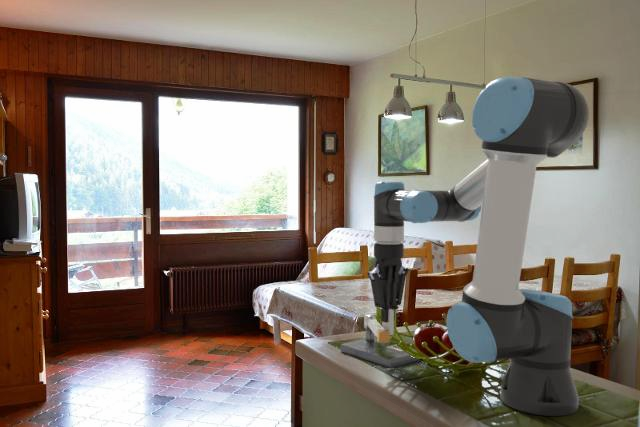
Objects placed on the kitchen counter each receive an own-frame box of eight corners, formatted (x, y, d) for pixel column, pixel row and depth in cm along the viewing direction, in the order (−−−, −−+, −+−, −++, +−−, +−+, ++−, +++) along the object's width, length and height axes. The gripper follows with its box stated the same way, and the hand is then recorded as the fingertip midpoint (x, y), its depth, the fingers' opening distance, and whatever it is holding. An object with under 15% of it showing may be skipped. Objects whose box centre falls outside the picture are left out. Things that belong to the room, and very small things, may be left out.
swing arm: (390, 345, 144) (390, 331, 144) (377, 345, 143) (378, 331, 143) (374, 326, 163) (374, 313, 163) (363, 326, 163) (363, 314, 163)
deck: (422, 359, 151) (422, 339, 151) (390, 367, 144) (390, 346, 143) (372, 344, 165) (372, 325, 165) (340, 351, 157) (340, 332, 157)
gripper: (395, 239, 156) (394, 327, 157) (360, 242, 148) (359, 335, 149) (417, 241, 150) (415, 332, 152) (381, 245, 142) (380, 341, 143)
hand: (387, 333), depth 150 cm, fingers closed
